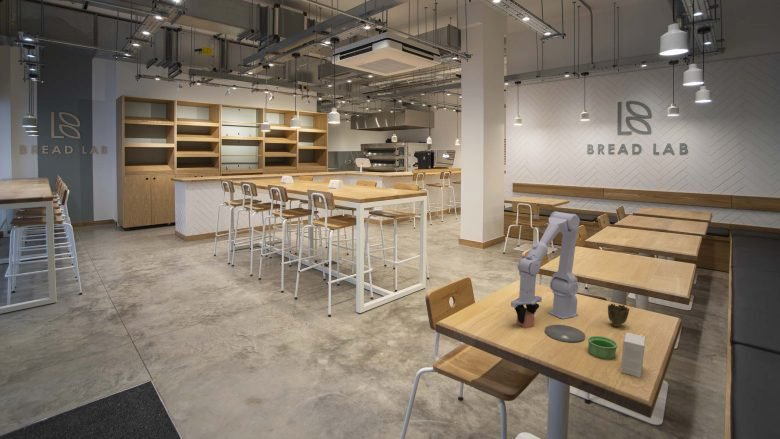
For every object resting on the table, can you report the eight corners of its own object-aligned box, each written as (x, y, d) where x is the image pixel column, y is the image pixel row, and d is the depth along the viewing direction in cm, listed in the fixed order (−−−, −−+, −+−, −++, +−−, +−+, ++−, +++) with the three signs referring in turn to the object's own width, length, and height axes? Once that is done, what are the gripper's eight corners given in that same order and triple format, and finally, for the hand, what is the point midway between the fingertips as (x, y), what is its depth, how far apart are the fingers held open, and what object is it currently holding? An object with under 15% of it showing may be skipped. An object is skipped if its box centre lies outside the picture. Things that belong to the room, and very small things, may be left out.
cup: (626, 324, 163) (628, 305, 162) (628, 331, 156) (630, 311, 155) (605, 321, 166) (607, 302, 165) (606, 327, 159) (608, 308, 158)
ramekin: (605, 362, 133) (606, 349, 132) (581, 350, 141) (582, 338, 140) (622, 356, 137) (623, 344, 136) (598, 345, 145) (599, 333, 144)
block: (524, 321, 165) (524, 310, 164) (533, 326, 160) (534, 314, 159) (516, 323, 163) (517, 311, 162) (526, 328, 158) (526, 316, 158)
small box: (622, 361, 133) (625, 331, 131) (642, 367, 130) (646, 336, 128) (620, 372, 127) (623, 340, 125) (641, 378, 123) (644, 345, 122)
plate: (562, 324, 163) (562, 322, 162) (593, 338, 150) (593, 336, 150) (536, 330, 156) (536, 328, 156) (567, 345, 144) (567, 343, 144)
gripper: (521, 294, 152) (519, 328, 154) (548, 289, 159) (546, 321, 161) (507, 289, 158) (505, 321, 161) (534, 283, 165) (532, 315, 167)
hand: (525, 321), depth 161 cm, fingers closed on block, 4 cm apart
